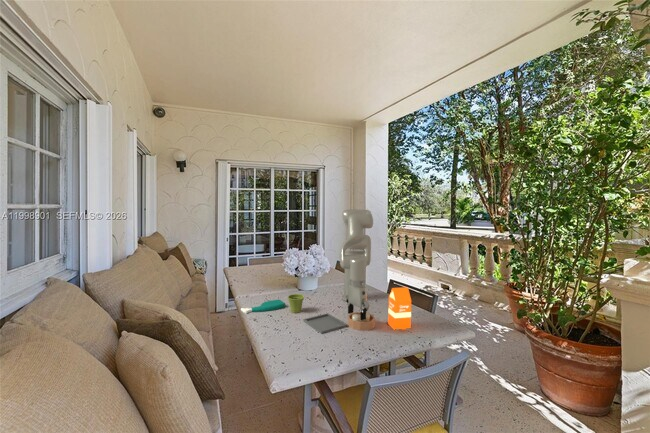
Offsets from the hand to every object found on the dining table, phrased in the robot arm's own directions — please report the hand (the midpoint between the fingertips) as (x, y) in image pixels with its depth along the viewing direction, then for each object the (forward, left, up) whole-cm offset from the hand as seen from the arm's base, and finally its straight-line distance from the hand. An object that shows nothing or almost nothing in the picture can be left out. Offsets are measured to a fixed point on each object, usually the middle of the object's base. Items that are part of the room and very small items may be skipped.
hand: (356, 316), depth 147 cm
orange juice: (-19, +11, -6) cm, 23 cm away
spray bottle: (+30, -49, -6) cm, 58 cm away
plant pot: (+16, -35, -6) cm, 39 cm away
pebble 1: (0, 0, -5) cm, 5 cm away
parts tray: (+12, -11, -6) cm, 17 cm away
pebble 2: (-6, 0, -5) cm, 8 cm away
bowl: (-3, 0, -6) cm, 6 cm away
